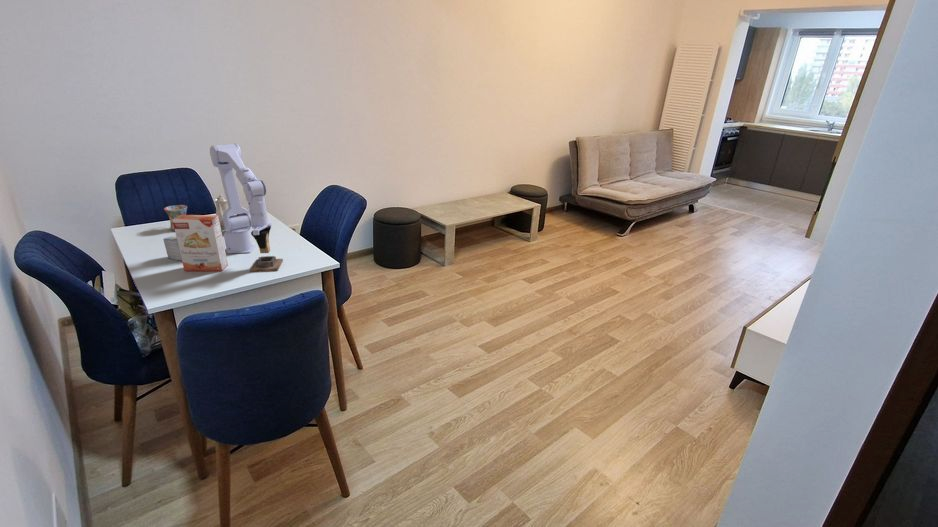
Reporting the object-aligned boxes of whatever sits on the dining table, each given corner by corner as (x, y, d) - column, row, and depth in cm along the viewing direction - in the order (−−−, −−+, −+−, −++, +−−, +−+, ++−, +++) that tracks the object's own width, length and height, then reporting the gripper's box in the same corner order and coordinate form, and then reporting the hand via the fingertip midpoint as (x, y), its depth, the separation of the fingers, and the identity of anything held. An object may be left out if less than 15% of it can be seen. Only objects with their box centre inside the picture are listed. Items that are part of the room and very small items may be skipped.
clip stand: (250, 271, 171) (248, 264, 170) (256, 261, 180) (255, 254, 179) (277, 270, 173) (276, 263, 172) (283, 260, 182) (282, 254, 181)
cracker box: (183, 271, 170) (170, 218, 162) (191, 265, 175) (179, 214, 167) (222, 271, 171) (211, 219, 163) (228, 265, 176) (218, 214, 168)
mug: (194, 229, 214) (189, 208, 210) (172, 233, 208) (166, 211, 203) (187, 223, 221) (182, 202, 217) (165, 227, 215) (160, 205, 211)
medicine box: (192, 257, 183) (187, 237, 179) (182, 261, 179) (177, 241, 175) (177, 254, 185) (172, 235, 181) (167, 258, 181) (162, 238, 178)
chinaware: (245, 238, 210) (243, 203, 204) (205, 236, 205) (202, 201, 199) (255, 220, 235) (254, 189, 229) (220, 218, 230) (217, 186, 224)
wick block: (260, 253, 173) (257, 233, 170) (262, 250, 176) (259, 231, 172) (268, 253, 173) (265, 233, 170) (270, 250, 176) (267, 230, 173)
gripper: (264, 218, 162) (270, 253, 168) (274, 207, 175) (278, 240, 181) (244, 218, 161) (250, 253, 166) (254, 207, 174) (260, 240, 180)
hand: (263, 246), depth 174 cm, fingers closed on wick block, 3 cm apart
